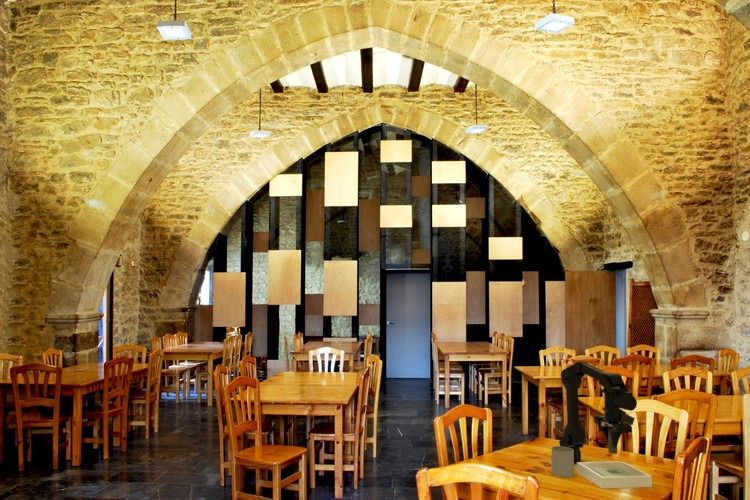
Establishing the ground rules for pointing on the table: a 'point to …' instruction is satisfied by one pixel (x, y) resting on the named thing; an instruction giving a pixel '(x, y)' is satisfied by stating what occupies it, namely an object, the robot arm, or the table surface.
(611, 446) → the peg
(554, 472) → the cup
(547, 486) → the table surface
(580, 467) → the tray
